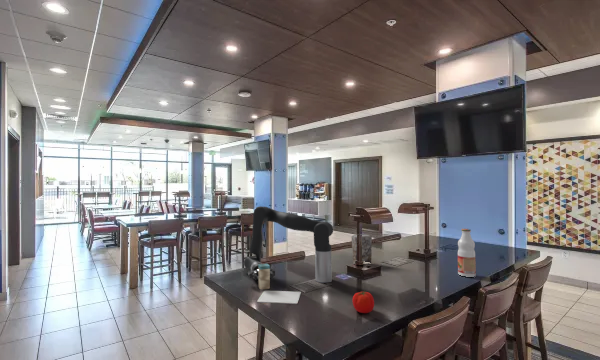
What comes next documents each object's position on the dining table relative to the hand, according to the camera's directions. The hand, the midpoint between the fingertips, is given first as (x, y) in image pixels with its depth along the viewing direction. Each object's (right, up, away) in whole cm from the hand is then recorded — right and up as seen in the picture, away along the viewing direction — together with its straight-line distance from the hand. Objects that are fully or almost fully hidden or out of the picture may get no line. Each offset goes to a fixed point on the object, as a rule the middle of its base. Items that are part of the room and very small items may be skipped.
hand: (264, 277), depth 162 cm
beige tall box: (0, -6, +1) cm, 6 cm away
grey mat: (+9, -6, -13) cm, 17 cm away
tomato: (+46, -5, -31) cm, 56 cm away
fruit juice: (+119, -6, +21) cm, 121 cm away
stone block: (+62, -7, +50) cm, 80 cm away
